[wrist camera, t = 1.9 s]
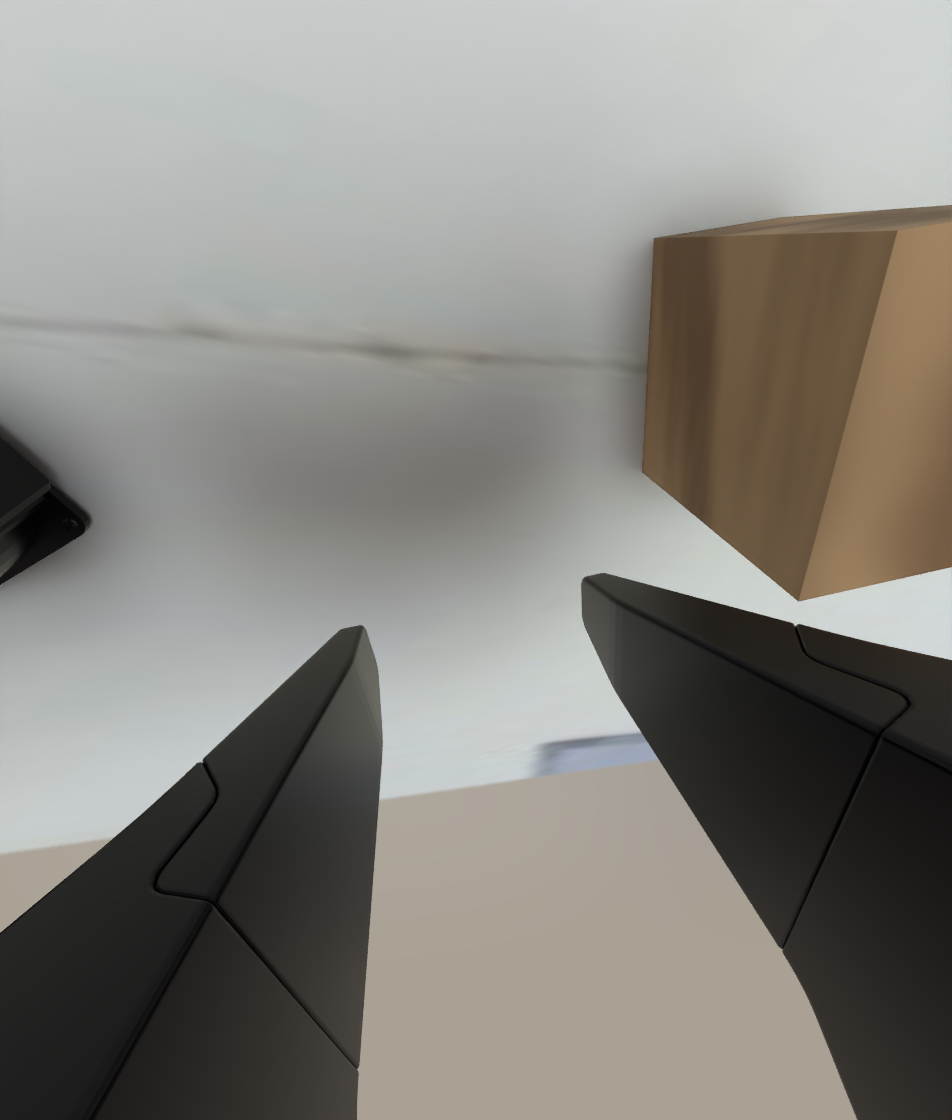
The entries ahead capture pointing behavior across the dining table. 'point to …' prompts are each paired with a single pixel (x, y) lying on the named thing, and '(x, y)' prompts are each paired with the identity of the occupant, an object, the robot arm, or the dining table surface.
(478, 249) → the dining table surface
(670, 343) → the rectangular block
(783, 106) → the dining table surface
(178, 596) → the dining table surface
